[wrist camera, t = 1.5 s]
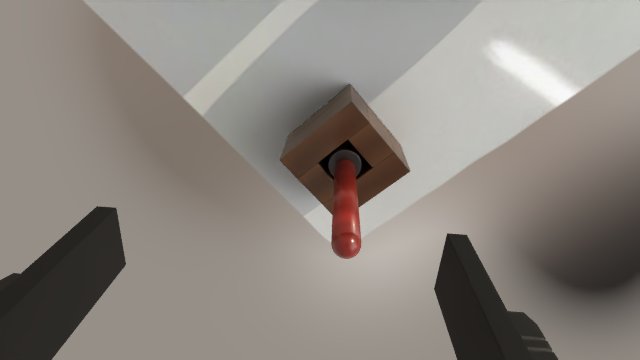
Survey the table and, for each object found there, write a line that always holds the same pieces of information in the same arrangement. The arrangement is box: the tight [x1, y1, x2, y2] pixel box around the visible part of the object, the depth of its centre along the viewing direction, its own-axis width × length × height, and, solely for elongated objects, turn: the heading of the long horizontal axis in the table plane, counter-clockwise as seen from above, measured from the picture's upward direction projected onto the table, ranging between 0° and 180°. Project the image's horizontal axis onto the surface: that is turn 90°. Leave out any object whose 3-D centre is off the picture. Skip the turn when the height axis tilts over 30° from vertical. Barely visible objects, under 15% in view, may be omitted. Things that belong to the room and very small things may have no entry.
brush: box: [328, 140, 361, 259], centre depth 36 cm, size 3×3×21 cm
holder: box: [280, 84, 410, 215], centre depth 42 cm, size 9×9×7 cm
